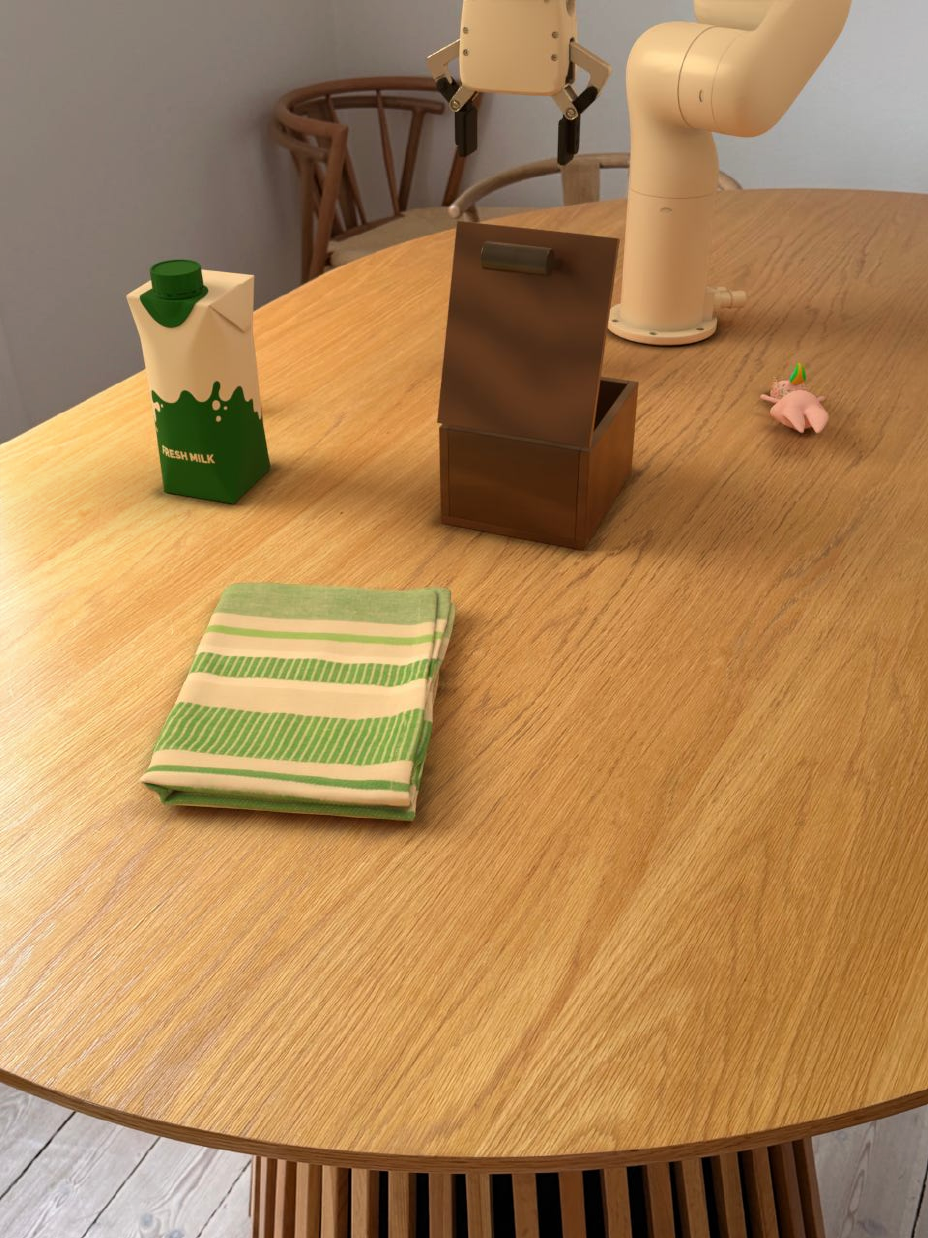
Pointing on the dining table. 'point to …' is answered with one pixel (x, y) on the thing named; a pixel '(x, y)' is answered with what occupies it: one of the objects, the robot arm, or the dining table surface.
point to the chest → (539, 475)
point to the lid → (526, 331)
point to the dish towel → (307, 702)
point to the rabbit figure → (796, 403)
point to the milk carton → (202, 379)
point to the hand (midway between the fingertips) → (516, 157)
